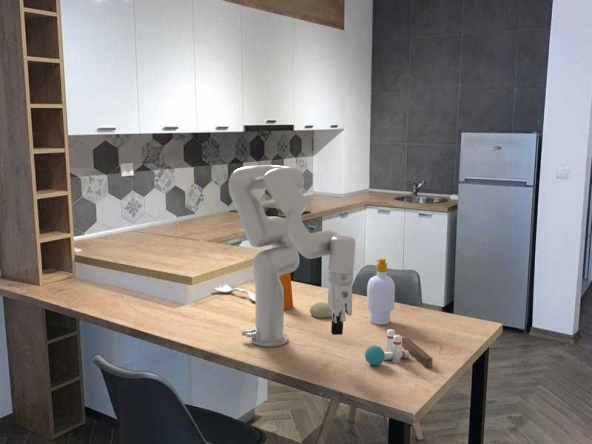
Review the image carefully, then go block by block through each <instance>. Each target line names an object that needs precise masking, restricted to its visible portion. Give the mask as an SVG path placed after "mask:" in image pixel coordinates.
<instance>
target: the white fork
mask: <svg viewBox="0 0 592 444" xmlns="http://www.w3.org/2000/svg"><path fill="white" fill-rule="evenodd" d="M212 290H213V291H215V292H219V293H224V294H227V293H232V292H235V291H237V292H240V293H245V294H247V295H248V297H249V299H250V300H251V301H252V302H255V303H256V301H255V293H254V292H251V291H249V290H246V289H245V288H239V287H237V288H232V287H231V286H229V285H228V284H227V283H226V284H225V285H223V286H222V285H221V287H220V286H219V288H218V287H217V288H213V289H212Z"/></svg>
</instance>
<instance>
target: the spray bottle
mask: <svg viewBox="0 0 592 444" xmlns="http://www.w3.org/2000/svg"><path fill="white" fill-rule="evenodd" d="M279 279H280V281H281V283H282V286H283V290H284V311H287V310H288V309H289V310H292V309H293V308H294V301H293V300H294V299H293V287H292V276H291V273H287V274H284V275H281V276H279Z"/></svg>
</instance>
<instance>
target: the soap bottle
mask: <svg viewBox="0 0 592 444" xmlns="http://www.w3.org/2000/svg"><path fill="white" fill-rule="evenodd" d="M375 261H376V262H377V263H376V275H374V276H371V278H369V280H368V282H367V287H366V289H367V290H366V291H367V292H366V308H367V309H368V310H369V321H370V322H371V323H372V324H374V325H378V326H379V325H380V326H383V325H385V326H386V325H388V324H390V322H391V312H392V311H393V310H394V309H395V296H396V295H395V294H396V286H395V285H396V284H395V282H394V280H393V278H391V277H390V276H388V275H387V273H388V272H387V270H388V263H387V262H386V258H378V259H376V260H375Z"/></svg>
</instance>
